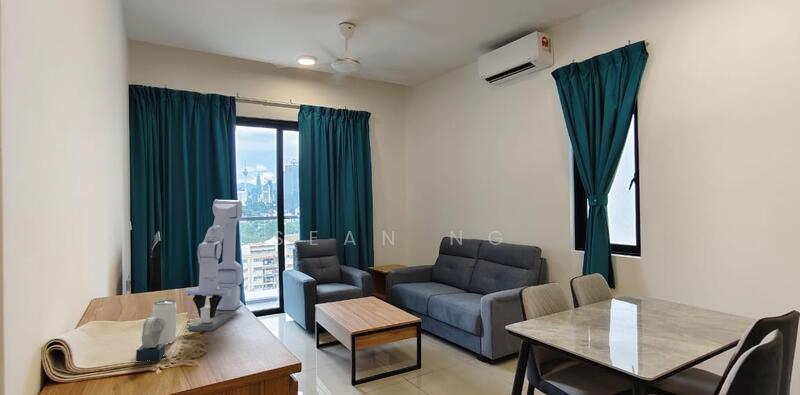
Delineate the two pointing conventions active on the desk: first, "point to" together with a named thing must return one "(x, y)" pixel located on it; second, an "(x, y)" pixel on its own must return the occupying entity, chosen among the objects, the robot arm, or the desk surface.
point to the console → (212, 322)
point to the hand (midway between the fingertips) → (207, 317)
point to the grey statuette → (151, 340)
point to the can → (166, 319)
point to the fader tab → (205, 314)
